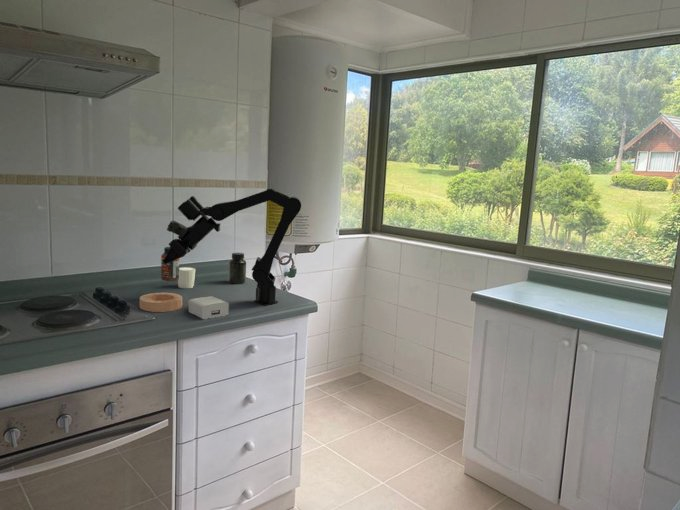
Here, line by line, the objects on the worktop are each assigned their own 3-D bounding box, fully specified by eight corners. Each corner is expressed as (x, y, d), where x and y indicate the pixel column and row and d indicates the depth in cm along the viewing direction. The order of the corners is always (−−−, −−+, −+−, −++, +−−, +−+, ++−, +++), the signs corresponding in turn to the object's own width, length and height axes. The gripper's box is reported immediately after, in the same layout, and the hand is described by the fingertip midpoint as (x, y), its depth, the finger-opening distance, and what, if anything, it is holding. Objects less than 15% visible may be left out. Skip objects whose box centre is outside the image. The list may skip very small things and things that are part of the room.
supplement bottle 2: (240, 280, 215) (241, 251, 214) (248, 283, 210) (249, 254, 208) (225, 281, 211) (226, 252, 209) (233, 285, 206) (234, 255, 204)
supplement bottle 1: (157, 280, 178) (157, 247, 176) (167, 277, 183) (168, 245, 181) (172, 282, 176) (172, 249, 174) (182, 279, 182) (182, 247, 180)
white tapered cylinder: (190, 289, 195) (190, 271, 193) (173, 287, 196) (173, 269, 194) (198, 285, 201) (198, 267, 200) (181, 283, 202) (181, 266, 201)
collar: (190, 306, 171) (190, 298, 171) (156, 314, 161) (156, 305, 160) (165, 299, 179) (165, 290, 178) (131, 305, 168) (131, 296, 168)
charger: (204, 305, 176) (228, 316, 165) (179, 308, 169) (202, 320, 159) (205, 291, 175) (228, 301, 164) (179, 294, 168) (202, 305, 158)
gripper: (188, 211, 185) (156, 239, 186) (175, 215, 167) (140, 248, 168) (210, 233, 187) (178, 262, 188) (199, 241, 169) (165, 272, 170)
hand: (166, 260), depth 178 cm, fingers closed on supplement bottle 1, 6 cm apart
